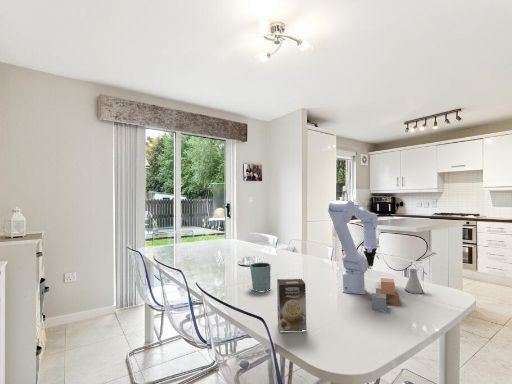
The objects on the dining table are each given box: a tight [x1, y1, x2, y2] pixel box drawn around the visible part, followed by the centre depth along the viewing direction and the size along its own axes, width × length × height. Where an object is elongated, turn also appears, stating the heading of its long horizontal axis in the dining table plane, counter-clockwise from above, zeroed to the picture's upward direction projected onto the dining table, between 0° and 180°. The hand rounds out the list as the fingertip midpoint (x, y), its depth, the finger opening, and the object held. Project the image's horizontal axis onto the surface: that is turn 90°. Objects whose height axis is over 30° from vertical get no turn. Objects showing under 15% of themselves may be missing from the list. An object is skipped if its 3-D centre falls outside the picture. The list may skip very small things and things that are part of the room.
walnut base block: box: [375, 287, 401, 306], centre depth 117 cm, size 8×8×4 cm
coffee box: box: [276, 278, 307, 332], centre depth 96 cm, size 9×6×16 cm
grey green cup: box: [249, 262, 272, 292], centre depth 137 cm, size 10×10×12 cm
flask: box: [404, 268, 425, 295], centre depth 127 cm, size 7×7×10 cm
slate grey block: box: [371, 292, 387, 312], centre depth 110 cm, size 5×5×5 cm
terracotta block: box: [380, 277, 396, 295], centre depth 117 cm, size 5×5×5 cm
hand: (370, 264), depth 139 cm, fingers open, 7 cm apart
